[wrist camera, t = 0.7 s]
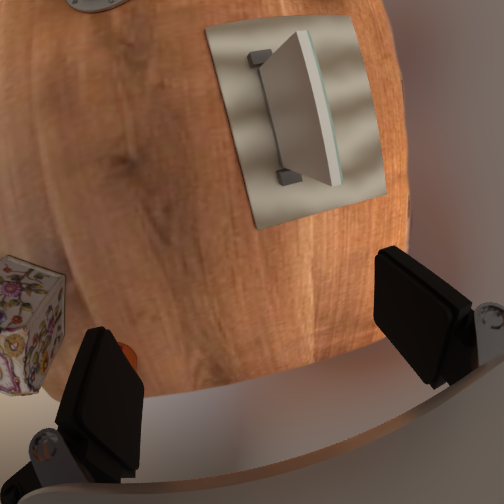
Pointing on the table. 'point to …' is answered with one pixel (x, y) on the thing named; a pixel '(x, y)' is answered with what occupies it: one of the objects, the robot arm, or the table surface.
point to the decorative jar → (28, 324)
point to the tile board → (259, 124)
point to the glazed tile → (301, 110)
